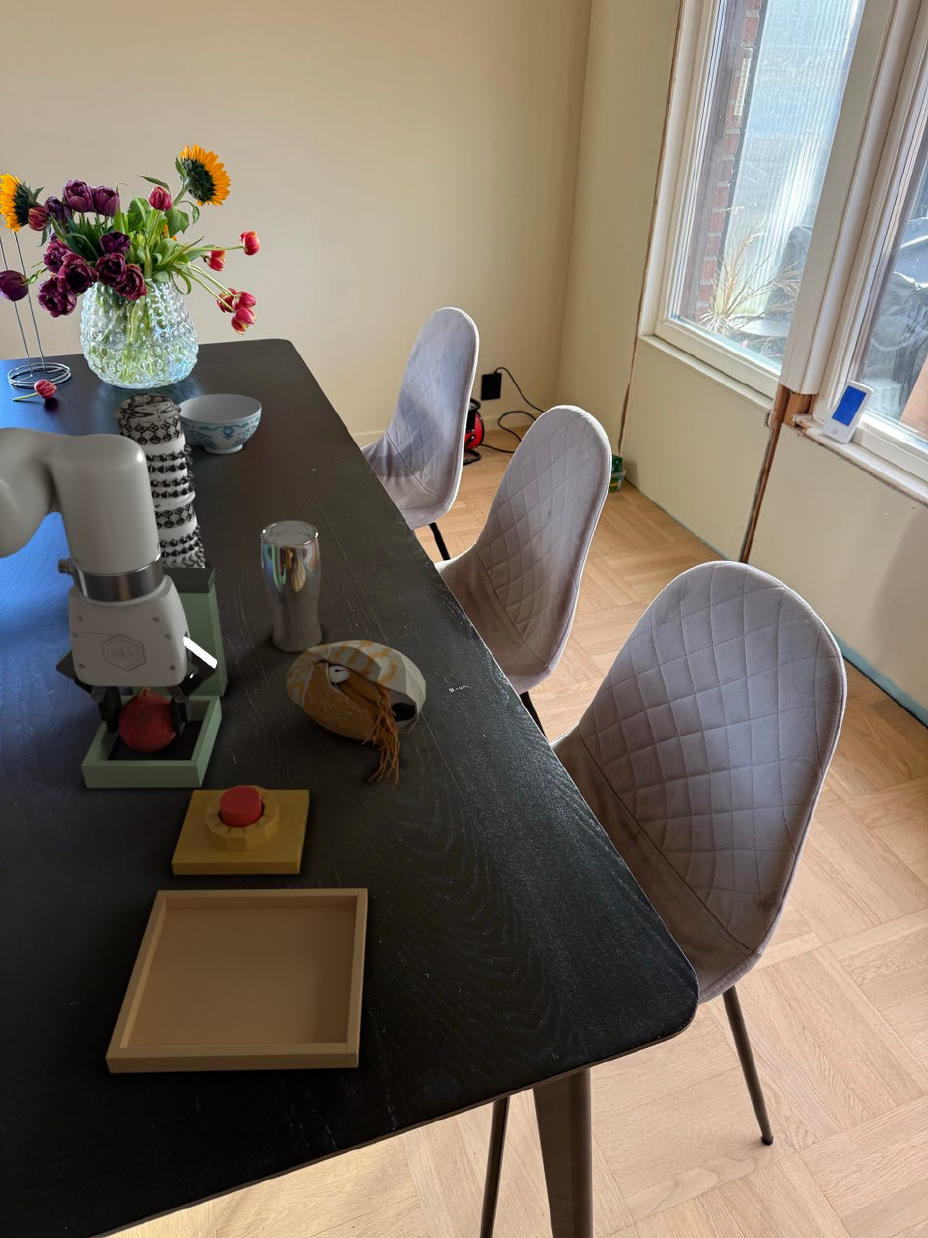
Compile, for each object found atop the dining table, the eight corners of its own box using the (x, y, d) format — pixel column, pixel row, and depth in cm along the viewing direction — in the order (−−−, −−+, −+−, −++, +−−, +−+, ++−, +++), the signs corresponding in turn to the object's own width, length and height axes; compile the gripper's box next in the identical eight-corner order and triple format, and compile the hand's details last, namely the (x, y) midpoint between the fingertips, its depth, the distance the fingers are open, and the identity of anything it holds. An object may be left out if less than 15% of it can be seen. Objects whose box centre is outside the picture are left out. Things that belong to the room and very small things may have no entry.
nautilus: (450, 794, 87) (301, 819, 84) (413, 661, 103) (287, 679, 101) (450, 738, 82) (291, 763, 79) (410, 608, 98) (279, 625, 96)
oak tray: (110, 1074, 61) (105, 1058, 60) (161, 905, 73) (157, 890, 72) (357, 1068, 62) (356, 1053, 61) (367, 903, 74) (367, 888, 73)
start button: (218, 828, 77) (215, 814, 76) (225, 799, 80) (223, 785, 79) (258, 828, 77) (256, 814, 76) (264, 799, 80) (263, 785, 79)
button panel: (174, 875, 76) (168, 848, 74) (196, 802, 84) (191, 776, 82) (298, 874, 77) (296, 847, 75) (309, 802, 84) (307, 776, 82)
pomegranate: (176, 769, 87) (165, 707, 83) (118, 769, 87) (104, 708, 82) (187, 731, 92) (177, 671, 88) (132, 732, 91) (119, 672, 87)
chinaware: (167, 444, 159) (160, 404, 155) (238, 427, 168) (234, 388, 164) (207, 469, 150) (201, 427, 146) (280, 450, 159) (277, 410, 155)
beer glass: (324, 622, 111) (318, 518, 103) (326, 652, 105) (320, 545, 97) (269, 625, 110) (259, 520, 102) (268, 656, 104) (257, 548, 96)
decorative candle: (136, 592, 115) (101, 413, 102) (143, 559, 123) (111, 388, 109) (206, 587, 117) (181, 411, 104) (209, 555, 125) (185, 386, 111)
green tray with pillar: (86, 788, 84) (52, 664, 76) (136, 680, 99) (112, 566, 91) (200, 788, 85) (179, 665, 77) (233, 680, 100) (218, 567, 92)
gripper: (5, 591, 74) (49, 749, 84) (207, 595, 75) (227, 750, 85) (37, 550, 80) (75, 701, 90) (223, 554, 81) (240, 703, 91)
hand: (148, 723), depth 87 cm, fingers closed on pomegranate, 5 cm apart
